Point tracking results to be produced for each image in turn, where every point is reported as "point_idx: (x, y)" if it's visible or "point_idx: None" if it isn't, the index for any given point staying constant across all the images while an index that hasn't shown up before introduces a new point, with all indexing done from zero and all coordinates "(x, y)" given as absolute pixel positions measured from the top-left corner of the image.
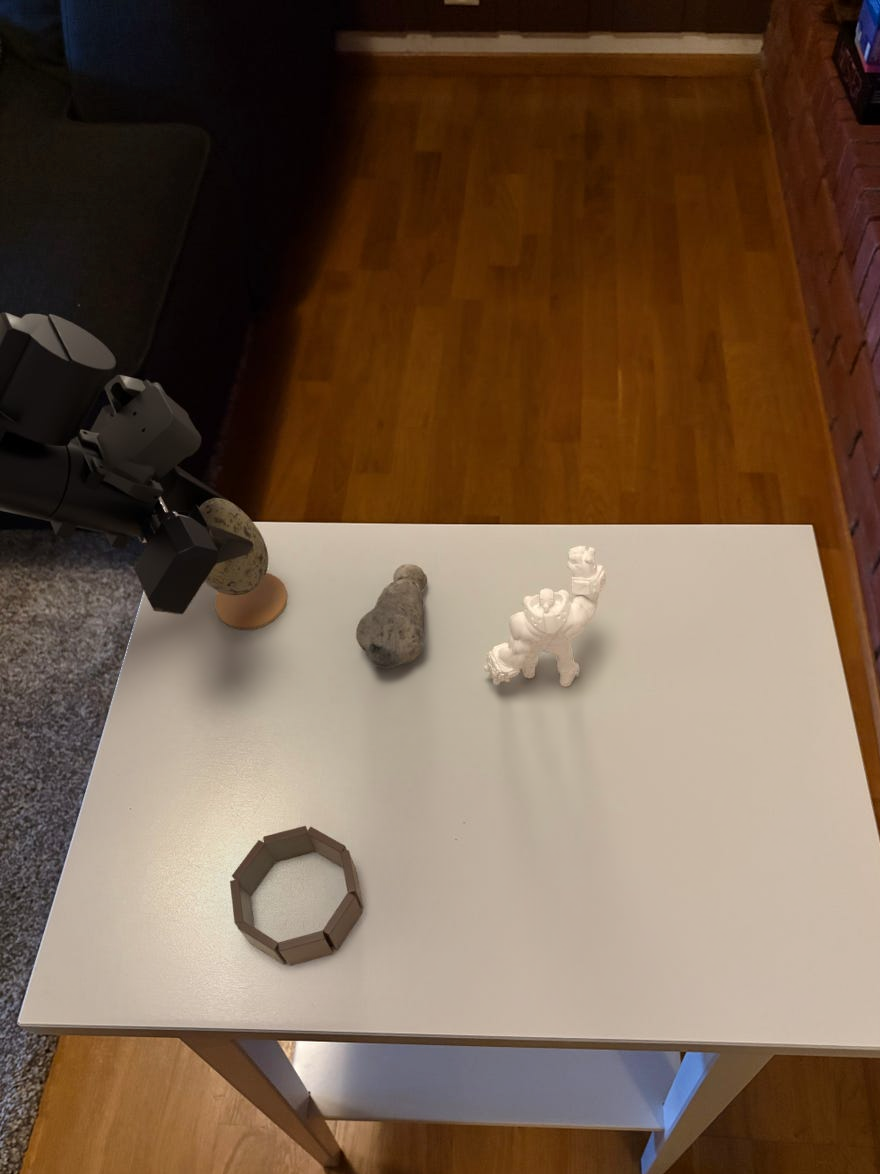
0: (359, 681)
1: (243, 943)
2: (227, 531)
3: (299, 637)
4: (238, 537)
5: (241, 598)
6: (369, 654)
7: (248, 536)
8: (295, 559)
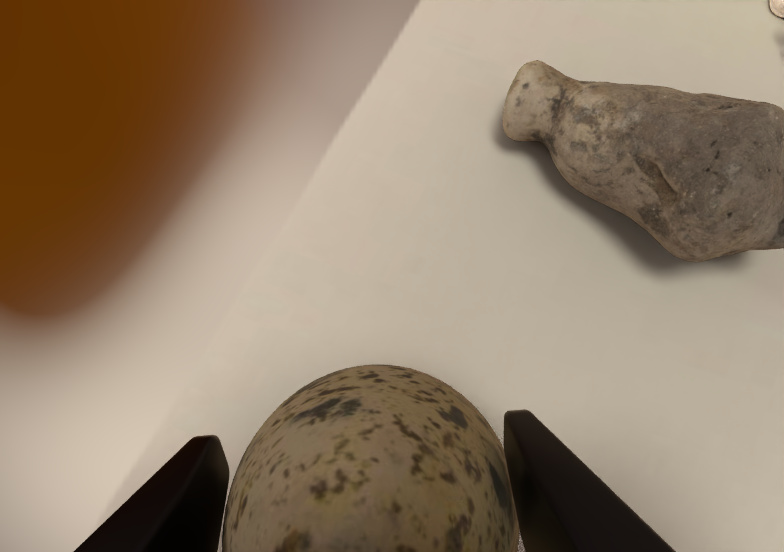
0: (728, 306)
1: None
2: (574, 534)
3: (552, 391)
4: (560, 473)
5: None
6: (779, 242)
7: (461, 415)
8: (314, 322)
